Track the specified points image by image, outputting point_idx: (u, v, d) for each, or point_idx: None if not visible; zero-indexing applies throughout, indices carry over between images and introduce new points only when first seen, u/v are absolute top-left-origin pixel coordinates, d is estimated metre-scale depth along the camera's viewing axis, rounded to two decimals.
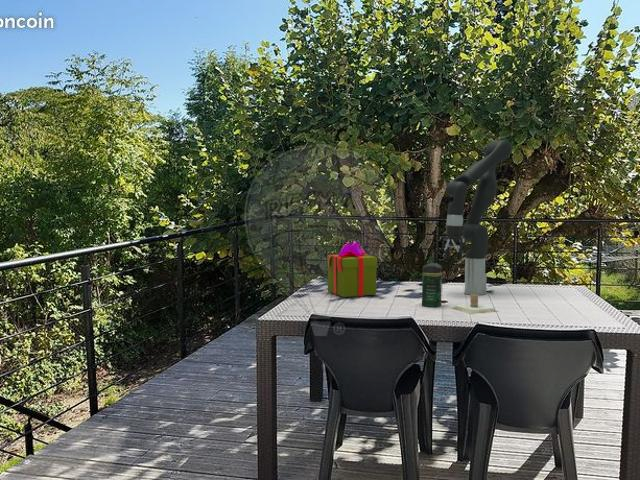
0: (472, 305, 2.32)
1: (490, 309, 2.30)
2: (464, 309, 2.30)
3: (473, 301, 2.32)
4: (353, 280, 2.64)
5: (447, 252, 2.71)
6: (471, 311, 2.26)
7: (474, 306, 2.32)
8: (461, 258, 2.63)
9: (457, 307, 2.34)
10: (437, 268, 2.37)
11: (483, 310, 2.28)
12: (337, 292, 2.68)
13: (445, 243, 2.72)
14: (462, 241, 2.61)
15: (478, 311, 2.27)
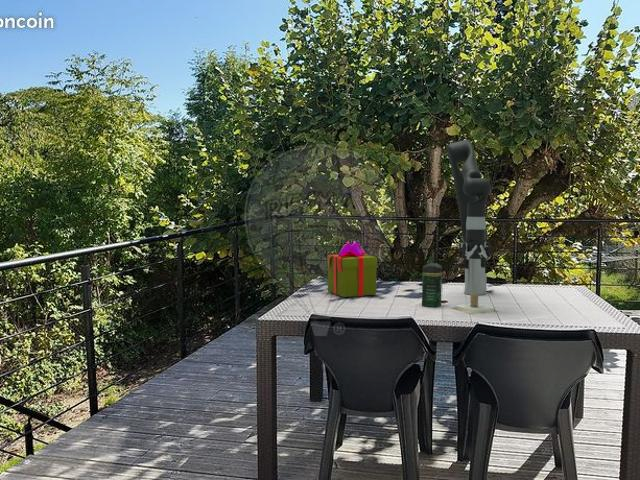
0: (472, 305, 2.32)
1: (490, 309, 2.30)
2: (464, 309, 2.30)
3: (473, 301, 2.32)
4: (353, 280, 2.64)
5: None
6: (471, 311, 2.26)
7: (474, 306, 2.32)
8: None
9: (457, 307, 2.34)
10: (437, 268, 2.37)
11: (483, 310, 2.28)
12: (337, 292, 2.68)
13: None
14: None
15: (478, 311, 2.27)
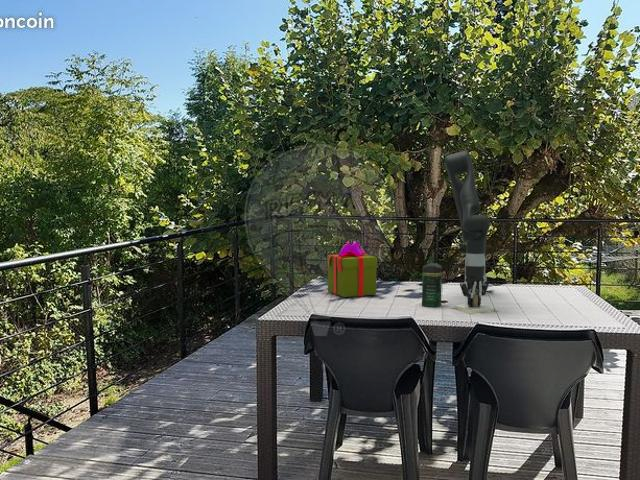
0: None
1: (490, 309, 2.30)
2: (464, 309, 2.30)
3: (473, 301, 2.32)
4: (353, 280, 2.64)
5: None
6: (471, 311, 2.26)
7: (474, 306, 2.32)
8: None
9: (457, 307, 2.34)
10: (437, 268, 2.37)
11: (483, 310, 2.28)
12: (337, 292, 2.68)
13: None
14: None
15: (478, 311, 2.27)
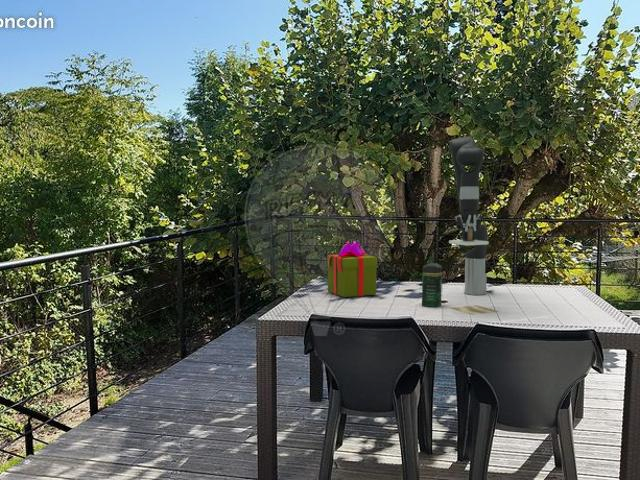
0: None
1: (485, 242, 2.29)
2: (459, 242, 2.30)
3: (468, 235, 2.31)
4: (353, 280, 2.64)
5: None
6: (466, 243, 2.26)
7: (469, 240, 2.31)
8: None
9: (452, 242, 2.33)
10: (437, 268, 2.37)
11: (478, 243, 2.28)
12: (337, 292, 2.68)
13: None
14: None
15: (473, 244, 2.27)
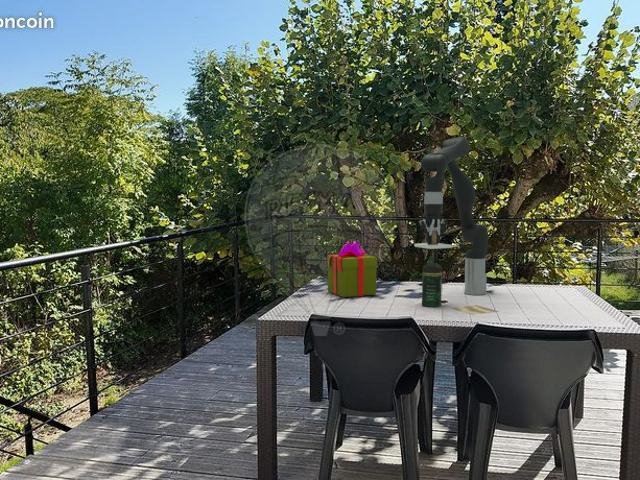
0: None
1: (448, 246, 2.37)
2: (423, 246, 2.37)
3: (432, 238, 2.39)
4: (353, 280, 2.64)
5: None
6: (429, 247, 2.34)
7: (433, 243, 2.39)
8: None
9: (416, 245, 2.41)
10: (437, 268, 2.37)
11: (441, 246, 2.36)
12: (337, 292, 2.68)
13: None
14: None
15: (436, 247, 2.35)
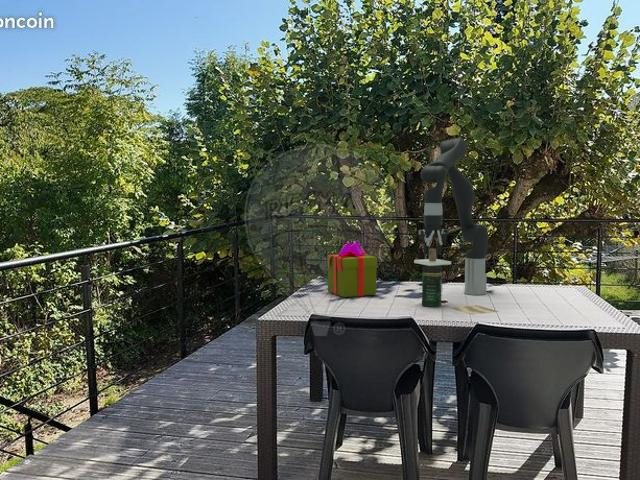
0: (430, 259, 2.40)
1: (447, 262, 2.38)
2: (422, 262, 2.38)
3: (431, 255, 2.39)
4: (353, 280, 2.64)
5: None
6: (428, 264, 2.34)
7: (432, 260, 2.39)
8: None
9: (416, 261, 2.42)
10: (437, 268, 2.37)
11: (440, 263, 2.36)
12: (337, 292, 2.68)
13: None
14: None
15: (435, 264, 2.35)
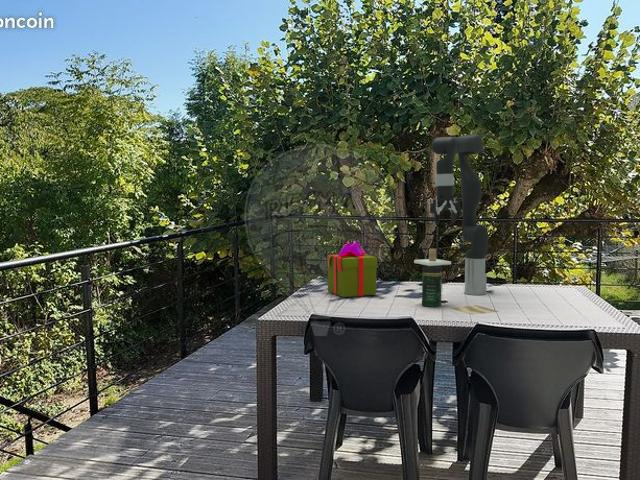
0: (430, 259, 2.40)
1: (447, 262, 2.38)
2: (422, 262, 2.38)
3: (431, 255, 2.39)
4: (353, 280, 2.64)
5: None
6: (428, 264, 2.34)
7: (432, 260, 2.39)
8: None
9: (416, 261, 2.42)
10: (437, 268, 2.37)
11: (440, 263, 2.36)
12: (337, 292, 2.68)
13: None
14: None
15: (435, 264, 2.35)
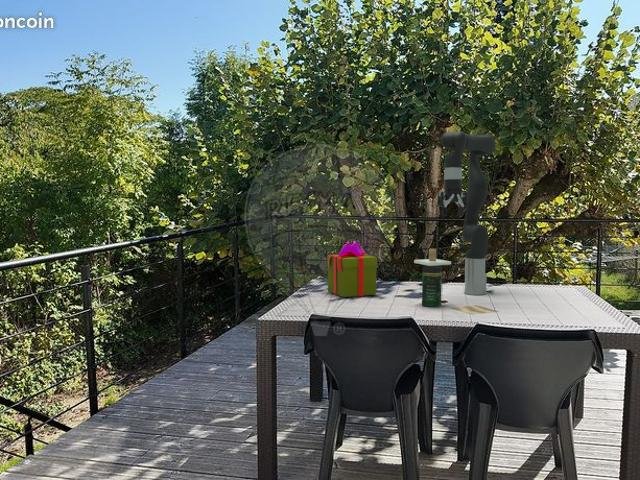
0: (430, 259, 2.40)
1: (447, 262, 2.38)
2: (422, 262, 2.38)
3: (431, 255, 2.39)
4: (353, 280, 2.64)
5: None
6: (428, 264, 2.34)
7: (432, 260, 2.39)
8: None
9: (416, 261, 2.42)
10: (437, 268, 2.37)
11: (440, 263, 2.36)
12: (337, 292, 2.68)
13: None
14: None
15: (435, 264, 2.35)
